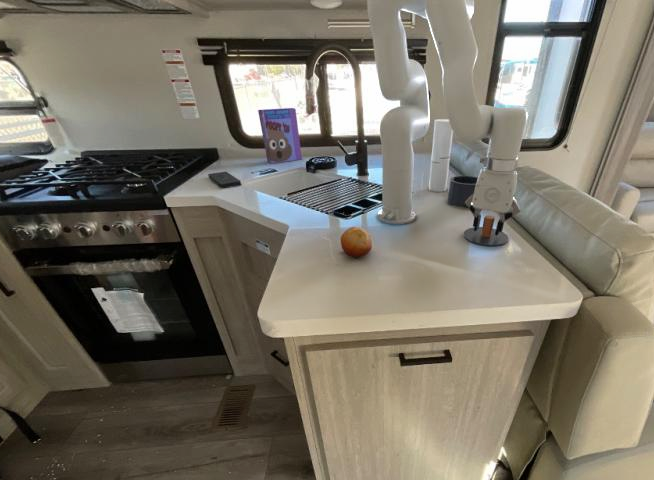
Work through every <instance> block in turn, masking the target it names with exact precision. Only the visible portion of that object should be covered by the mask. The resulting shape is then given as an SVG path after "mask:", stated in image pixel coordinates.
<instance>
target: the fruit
mask: <svg viewBox="0 0 654 480" xmlns="http://www.w3.org/2000/svg"><path fill="white" fill-rule="evenodd" d="M340 246H341V249H342V252H341V254H345V255H346V256H348V257H351V258H353V259H359V258H362V257H363V256H365V255H367V254H368V253H369V252H370V251H371V250H372V247H373V241H372V238H371V234H370V233H369V232H367V231H366V230H365V229H364V228H361V227H356V226H352V227H348V228H347V229H346V230H345V231H344V232H343V233H342V234H341V235H340Z"/></svg>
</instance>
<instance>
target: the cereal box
mask: <svg viewBox="0 0 654 480" xmlns="http://www.w3.org/2000/svg"><path fill="white" fill-rule="evenodd" d="M257 112H258V118H259V124H260V128H261V133H262V140H263V145H264V151H265V155H266V156H265V157H266V161H267V164H270V165H276V164H281V163H288V162H295V161H302V160H303V157H302V149H301V141H300V133H299V126H298V125H299V124H298V118H297V117H298V116H297V109H296V108H294V107H285V108H269V109H267V108H265V109H257Z"/></svg>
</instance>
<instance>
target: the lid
mask: <svg viewBox="0 0 654 480" xmlns="http://www.w3.org/2000/svg"><path fill="white" fill-rule="evenodd" d="M495 220H496V216H494V215H491V214H490V215H489V214H488V215H484V217H483V223H482V226H479V228H478V230H477V231H474V227H473V226H472V227H470V228H467V229H465V230H464V231H463V239H465V240H466V241H467V242H469V243H471V244H474V245H477V246H481V247H487V248H489V247H494V248H495V247H502V246H504V245H506V244H507V243H508V242H509V240H510V237H509V235H508V234H506V233H505V232H503V231H502V232H499V234H498V236H497V235H495V232H496V228H494V224H495Z"/></svg>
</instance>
